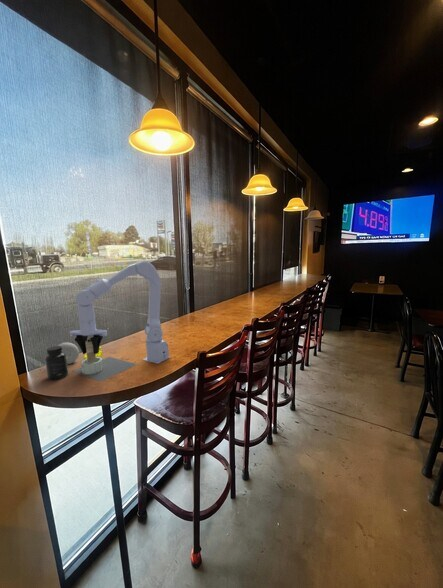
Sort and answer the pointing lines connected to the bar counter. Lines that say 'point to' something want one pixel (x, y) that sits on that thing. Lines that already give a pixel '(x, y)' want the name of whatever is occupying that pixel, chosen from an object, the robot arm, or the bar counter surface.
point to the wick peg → (90, 351)
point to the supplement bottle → (56, 363)
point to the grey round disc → (71, 349)
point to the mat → (108, 368)
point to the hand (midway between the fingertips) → (90, 353)
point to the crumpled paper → (95, 354)
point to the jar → (92, 366)
